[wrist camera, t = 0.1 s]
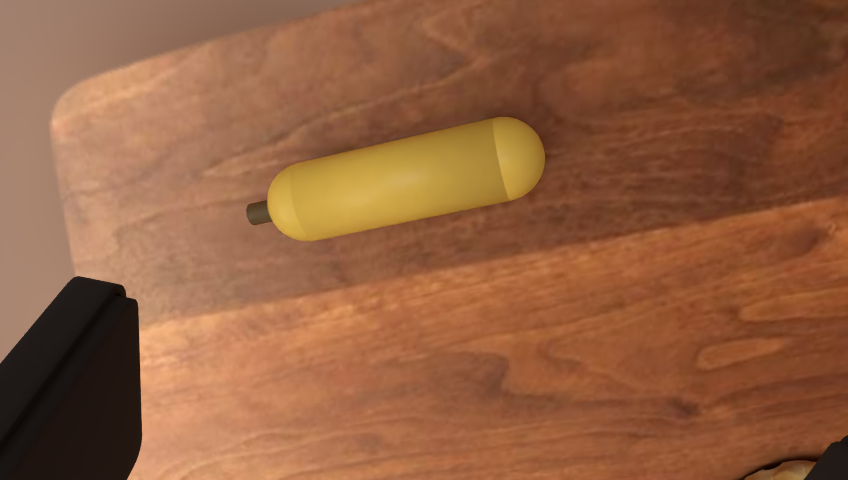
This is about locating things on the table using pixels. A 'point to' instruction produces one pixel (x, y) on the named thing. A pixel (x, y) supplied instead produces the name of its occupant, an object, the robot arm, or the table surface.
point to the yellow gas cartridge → (404, 180)
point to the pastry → (785, 471)
